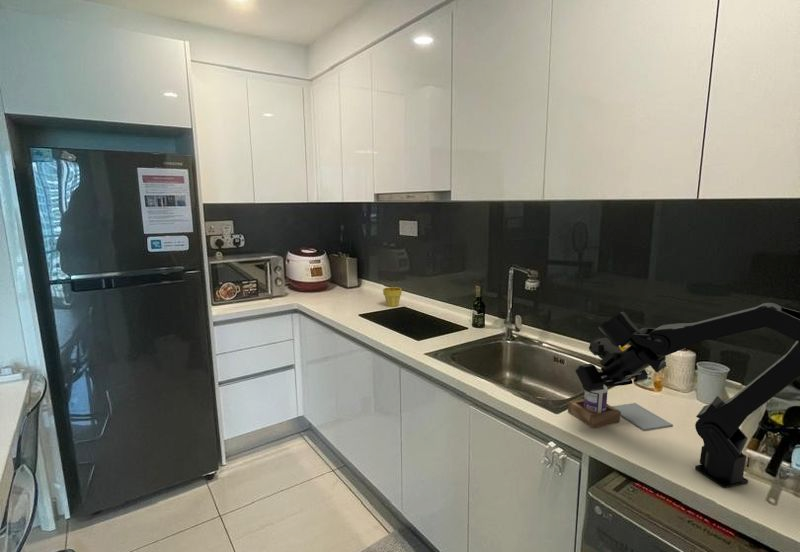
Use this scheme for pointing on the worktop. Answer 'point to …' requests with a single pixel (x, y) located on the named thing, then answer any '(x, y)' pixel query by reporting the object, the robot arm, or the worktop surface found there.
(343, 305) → the worktop surface
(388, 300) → the plant pot
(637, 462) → the worktop surface
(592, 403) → the pill bottle
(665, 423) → the grey mat
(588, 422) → the walnut socket
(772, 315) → the robot arm
